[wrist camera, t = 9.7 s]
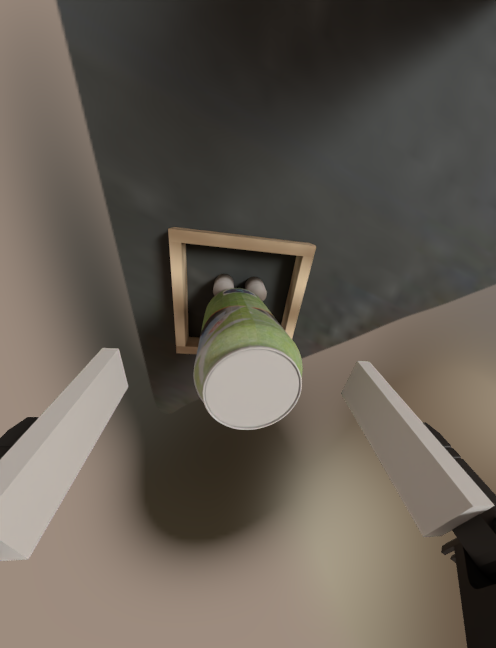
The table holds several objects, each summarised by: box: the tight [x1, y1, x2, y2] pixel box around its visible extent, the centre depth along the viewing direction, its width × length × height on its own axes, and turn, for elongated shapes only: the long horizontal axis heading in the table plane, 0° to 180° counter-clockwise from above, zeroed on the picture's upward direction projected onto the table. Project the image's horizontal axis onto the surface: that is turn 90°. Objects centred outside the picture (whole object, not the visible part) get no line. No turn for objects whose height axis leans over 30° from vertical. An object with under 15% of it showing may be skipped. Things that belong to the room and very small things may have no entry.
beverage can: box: [193, 288, 303, 430], centre depth 15 cm, size 6×7×12 cm
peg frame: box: [168, 227, 316, 354], centre depth 21 cm, size 13×13×2 cm
